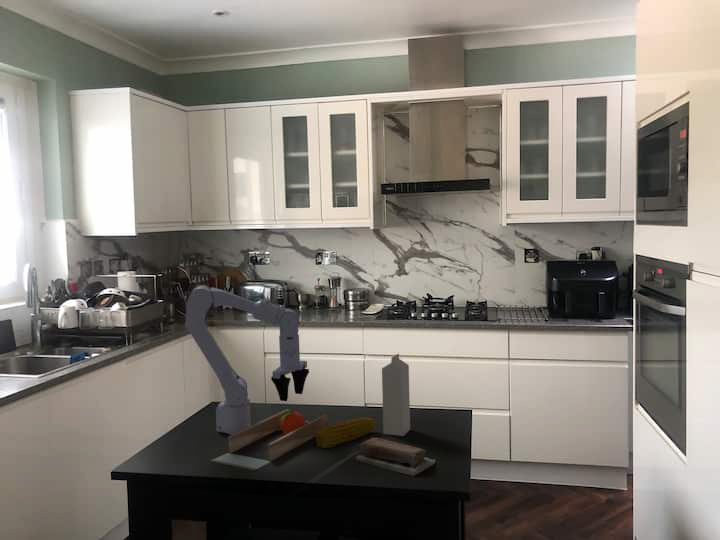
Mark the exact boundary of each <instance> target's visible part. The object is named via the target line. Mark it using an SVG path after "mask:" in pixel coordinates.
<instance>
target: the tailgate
mask: <svg viewBox="0 0 720 540" xmlns="http://www.w3.org/2000/svg"><path fill="white" fill-rule="evenodd" d="M210 462H213V463H216V464H222V465H227V466H231V467H235V468H241V469H245V470H249V471H254V472H255V471H257V470H259V469H260V468H262V467H264V466H266V465H268V464H270V463H271V462H272V461H269V460H265V459H260V458H255V457H252V456H245V455H241V454H235V453H229V452H226V453H224V454H222V455H220V456H218V457H216V458H214V459H211V460H210Z"/></svg>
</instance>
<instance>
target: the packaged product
mask: <svg viewBox="0 0 720 540" xmlns="http://www.w3.org/2000/svg"><path fill="white" fill-rule="evenodd" d="M359 448H360V449H359V454H358V455H356V456H355V461H356V460H357V461H356V462H359V461H360V462H359V463H363V462H364V464H367V463H368V464H367V465H370V464H371V466H373V465H374V467H378V468H381V469H384V470H389V471H392V472H396V473H401V474H405V475H408V476H412V477H415V476H416V475H418V474H420V473H422V472H423V471H425V470H427V469H428V468H431V467H432V466H433V465H435V463H436V459H434V458H433V459H431V458H430V457H425V455H426V453H427V450H426V449H423V448H421V447H416V446H412V445H409V444H404V443H401V442H396V441H393V440H392V441H391V440H388V439H384V438H380V437H370V438H369V439H367V440H364V441H363V442H361V443H359Z"/></svg>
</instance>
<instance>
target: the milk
mask: <svg viewBox="0 0 720 540" xmlns="http://www.w3.org/2000/svg"><path fill="white" fill-rule="evenodd" d="M390 361H391V362H390V363H388V364H387V365H385V366H383V367H382V368H381V383H382V384H381V386H382V419H383V421H382V424H383V427H382V428H383V434H384V435H388V436H389V435H390V436H399V437H404V436H405V435H406V434H407V433H408V432H409V431H410V430H411V411H410V410H411V409H410V408H411V406H410V370H409V369H410V368H409V366H410V365H409V364H408V363H407V362H405V361H403V360H402V359H400V353H396V354H395V355H393V356H392V357H391V360H390Z"/></svg>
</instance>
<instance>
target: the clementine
mask: <svg viewBox="0 0 720 540" xmlns="http://www.w3.org/2000/svg"><path fill="white" fill-rule="evenodd" d="M282 418H283V419H282ZM282 418H281V419H282V421H281V419H280V421H281V429H282V433H283V434H284V436H285V435H286V434H288V433H290V432H292V431H294V430H296V429H298V428H300V427H302V426H303V425H305V424H306V423H305V421H306V420H305V418H304V416H303V415H302V414H301V413H299V412H296V411H290V413H287V414H285V415H284V416H283V417H282ZM280 421H279V422H280ZM278 425H279V424H278Z"/></svg>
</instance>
